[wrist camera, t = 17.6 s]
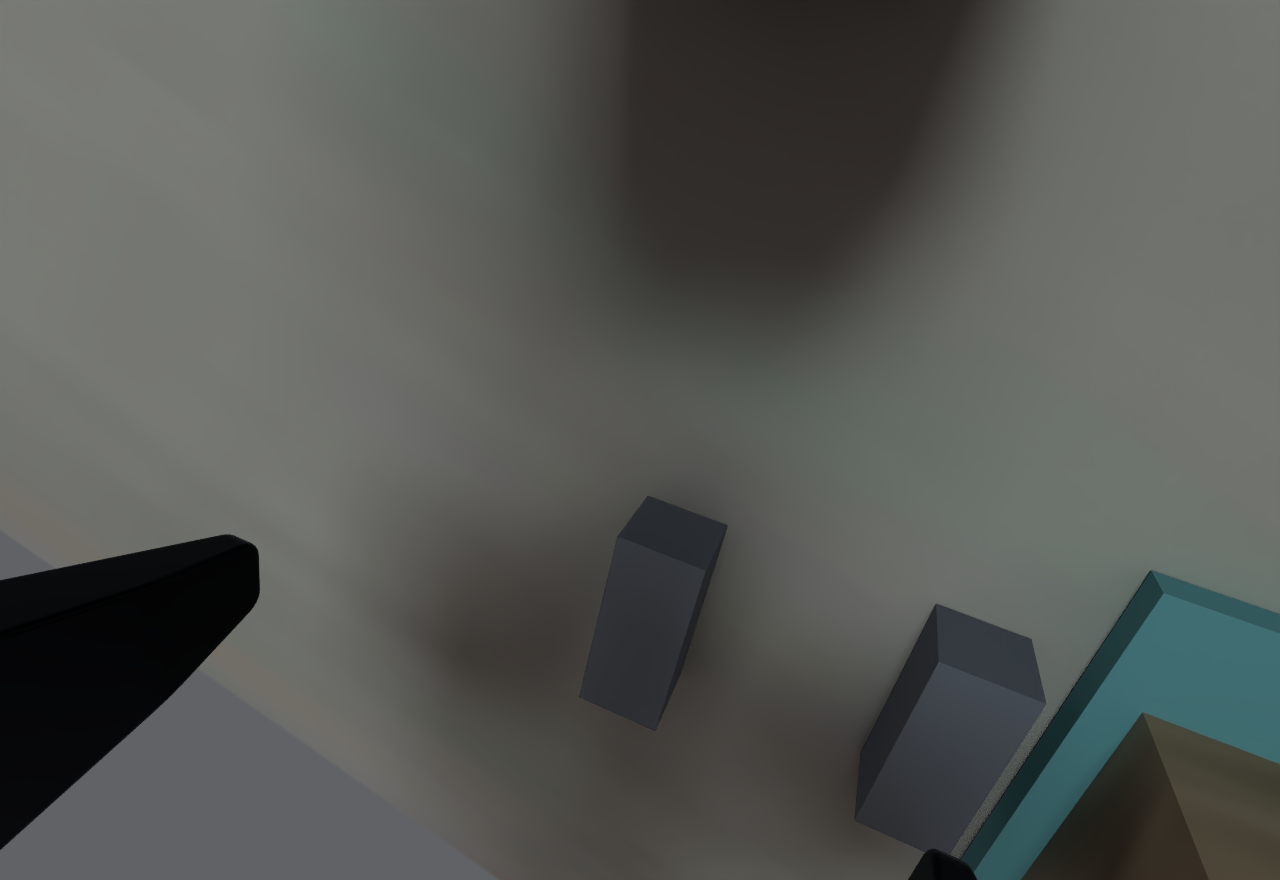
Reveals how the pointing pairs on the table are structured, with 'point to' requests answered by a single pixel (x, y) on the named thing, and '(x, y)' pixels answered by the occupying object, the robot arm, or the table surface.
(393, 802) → the table surface
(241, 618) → the robot arm
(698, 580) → the grey blocks
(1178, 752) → the walnut block
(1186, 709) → the pad
